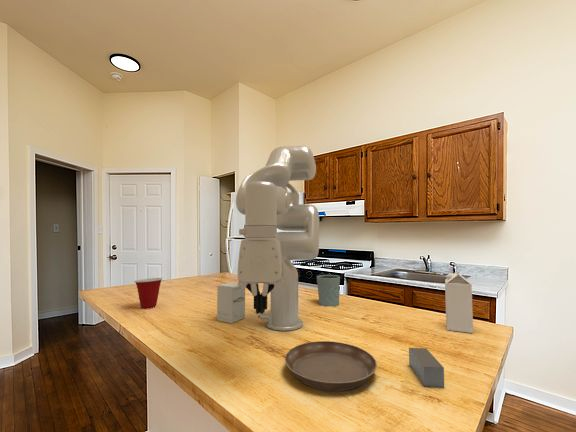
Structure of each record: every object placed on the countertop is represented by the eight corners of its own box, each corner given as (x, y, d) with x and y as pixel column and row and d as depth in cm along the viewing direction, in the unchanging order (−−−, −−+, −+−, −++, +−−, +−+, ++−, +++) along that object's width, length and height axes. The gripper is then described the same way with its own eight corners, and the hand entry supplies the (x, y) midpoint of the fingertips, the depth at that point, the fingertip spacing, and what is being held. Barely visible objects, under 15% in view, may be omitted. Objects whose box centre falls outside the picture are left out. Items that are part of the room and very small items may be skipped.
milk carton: (470, 326, 99) (468, 269, 100) (473, 333, 92) (471, 272, 93) (446, 324, 102) (444, 268, 103) (447, 330, 95) (445, 270, 96)
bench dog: (424, 386, 62) (423, 366, 62) (409, 364, 72) (408, 347, 72) (444, 387, 61) (443, 367, 61) (426, 365, 71) (426, 348, 71)
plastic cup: (153, 302, 134) (153, 275, 134) (167, 306, 127) (167, 277, 128) (128, 307, 125) (129, 279, 126) (142, 312, 119) (142, 281, 119)
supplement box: (231, 323, 103) (232, 286, 104) (216, 320, 107) (216, 284, 108) (245, 318, 110) (245, 283, 110) (230, 315, 114) (230, 281, 114)
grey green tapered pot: (342, 307, 125) (341, 278, 125) (317, 307, 125) (317, 278, 125) (338, 301, 135) (338, 274, 135) (315, 301, 135) (315, 274, 136)
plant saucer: (397, 388, 61) (396, 372, 62) (302, 405, 56) (302, 387, 56) (349, 349, 81) (348, 337, 81) (275, 359, 75) (275, 346, 75)
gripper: (225, 233, 68) (224, 315, 67) (290, 233, 67) (290, 317, 65) (234, 234, 76) (233, 307, 74) (293, 234, 74) (293, 309, 73)
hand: (260, 312), depth 70 cm, fingers closed
